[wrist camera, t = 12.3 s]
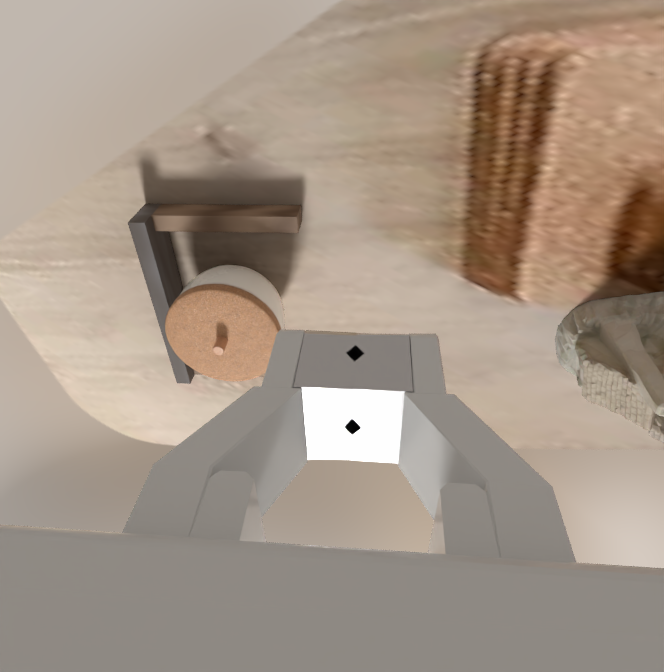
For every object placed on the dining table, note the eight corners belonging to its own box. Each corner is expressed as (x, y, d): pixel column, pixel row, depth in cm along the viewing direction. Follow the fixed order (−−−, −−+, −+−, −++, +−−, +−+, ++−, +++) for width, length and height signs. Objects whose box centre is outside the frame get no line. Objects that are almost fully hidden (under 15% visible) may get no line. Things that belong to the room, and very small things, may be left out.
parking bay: (300, 205, 44) (294, 224, 41) (311, 363, 56) (307, 388, 52) (145, 203, 45) (127, 222, 42) (188, 359, 57) (177, 383, 54)
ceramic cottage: (566, 292, 47) (632, 414, 36) (748, 285, 46) (874, 410, 34) (534, 398, 57) (577, 519, 46) (681, 395, 56) (762, 519, 45)
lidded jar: (170, 264, 49) (133, 319, 42) (265, 232, 46) (243, 285, 38) (222, 343, 55) (197, 403, 47) (309, 319, 52) (297, 380, 44)
